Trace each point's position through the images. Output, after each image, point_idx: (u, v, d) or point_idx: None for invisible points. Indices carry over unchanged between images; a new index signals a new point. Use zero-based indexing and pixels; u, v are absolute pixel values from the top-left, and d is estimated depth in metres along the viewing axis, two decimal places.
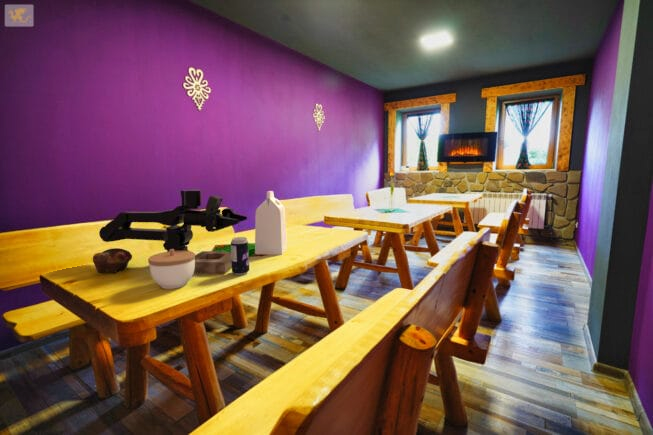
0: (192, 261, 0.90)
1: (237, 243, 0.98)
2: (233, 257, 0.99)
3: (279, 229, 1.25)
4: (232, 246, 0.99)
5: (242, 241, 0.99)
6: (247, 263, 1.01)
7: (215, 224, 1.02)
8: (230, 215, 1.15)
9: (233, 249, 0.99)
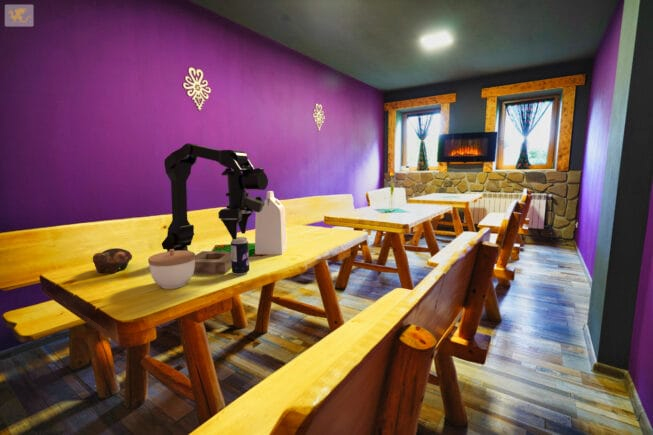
0: (192, 261, 0.90)
1: (237, 243, 0.98)
2: (233, 257, 0.99)
3: (279, 229, 1.25)
4: (232, 246, 0.99)
5: (242, 241, 0.99)
6: (247, 263, 1.01)
7: (227, 219, 0.92)
8: (245, 214, 1.05)
9: (233, 249, 0.99)
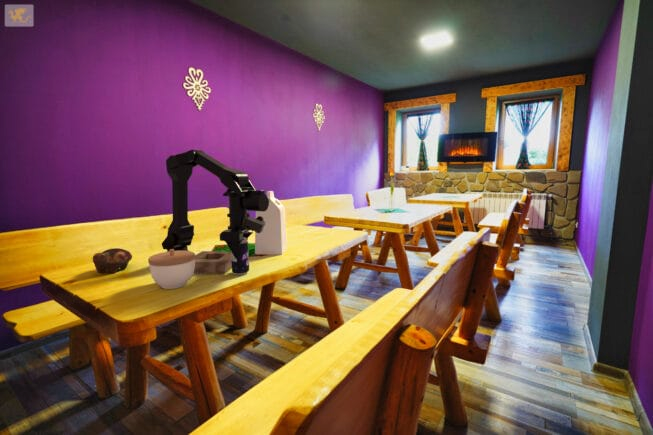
0: (192, 261, 0.90)
1: None
2: (233, 257, 0.99)
3: (279, 229, 1.25)
4: None
5: (242, 241, 0.99)
6: (247, 263, 1.01)
7: None
8: (244, 234, 1.04)
9: None
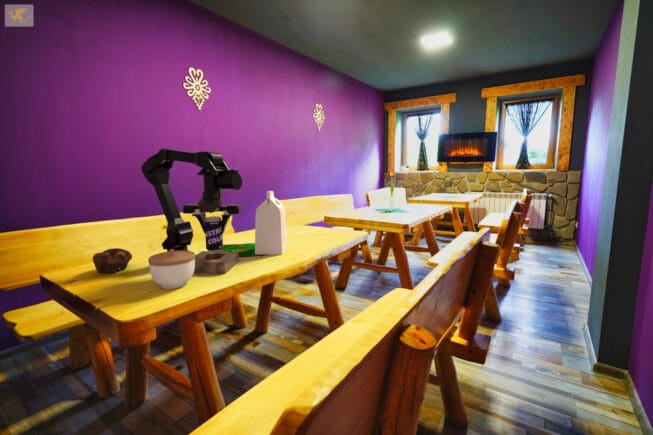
0: (192, 261, 0.90)
1: (205, 220, 1.05)
2: None
3: (279, 229, 1.25)
4: None
5: (206, 219, 1.03)
6: (209, 241, 1.04)
7: None
8: None
9: None
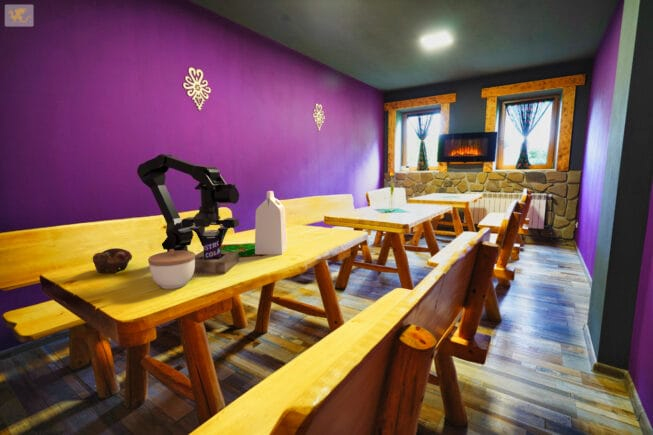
0: (192, 261, 0.90)
1: None
2: None
3: (279, 229, 1.25)
4: None
5: (204, 233, 1.05)
6: (206, 255, 1.05)
7: None
8: None
9: None
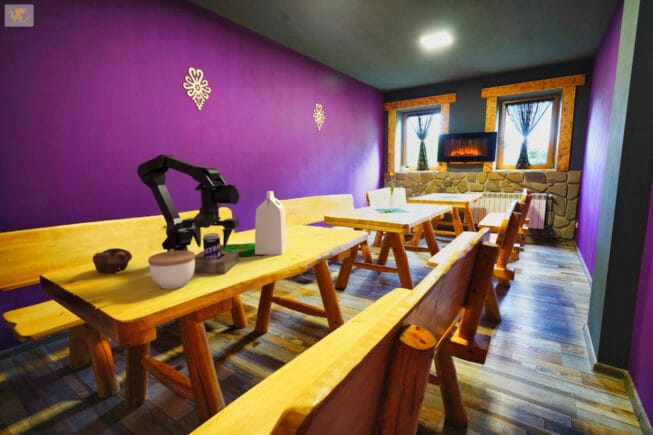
0: (192, 261, 0.90)
1: None
2: None
3: (279, 229, 1.25)
4: None
5: (204, 236, 1.05)
6: None
7: None
8: None
9: None
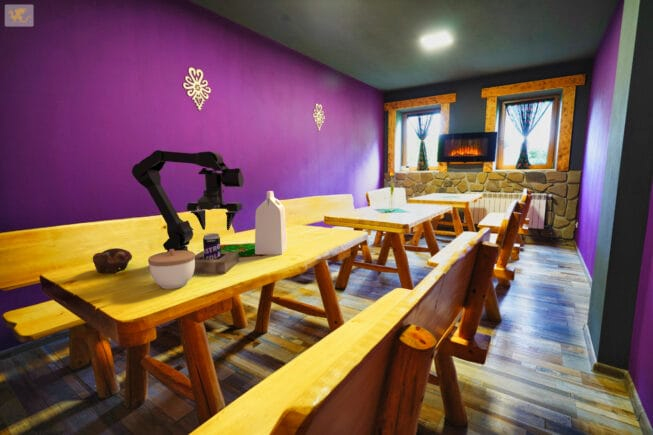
0: (192, 261, 0.90)
1: None
2: None
3: (279, 229, 1.25)
4: None
5: (204, 237, 1.05)
6: None
7: None
8: None
9: None
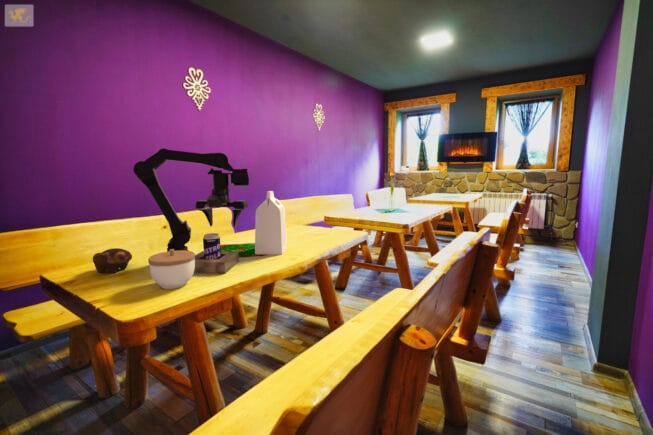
0: (192, 261, 0.90)
1: None
2: None
3: (279, 229, 1.25)
4: None
5: (204, 237, 1.05)
6: None
7: None
8: None
9: None
